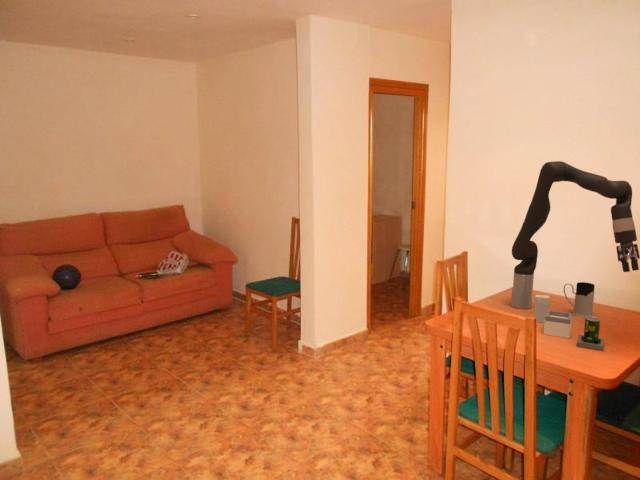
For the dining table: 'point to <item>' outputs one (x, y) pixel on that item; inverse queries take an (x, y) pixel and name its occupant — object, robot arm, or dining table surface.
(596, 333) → the beer can
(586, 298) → the grey container
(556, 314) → the riser
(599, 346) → the table dock
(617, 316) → the dining table surface
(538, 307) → the skincare box
